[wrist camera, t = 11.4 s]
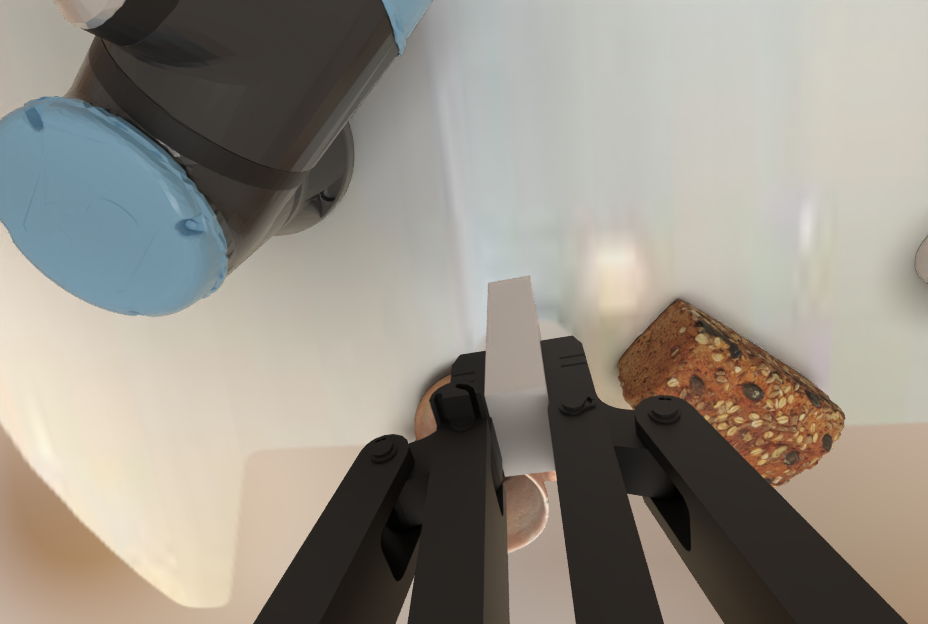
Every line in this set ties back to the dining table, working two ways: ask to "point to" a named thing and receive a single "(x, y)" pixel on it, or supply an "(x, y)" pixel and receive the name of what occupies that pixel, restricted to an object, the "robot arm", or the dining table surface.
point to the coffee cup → (922, 261)
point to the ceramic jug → (521, 490)
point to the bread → (733, 391)
